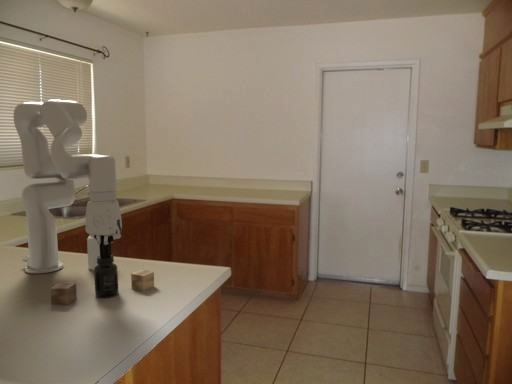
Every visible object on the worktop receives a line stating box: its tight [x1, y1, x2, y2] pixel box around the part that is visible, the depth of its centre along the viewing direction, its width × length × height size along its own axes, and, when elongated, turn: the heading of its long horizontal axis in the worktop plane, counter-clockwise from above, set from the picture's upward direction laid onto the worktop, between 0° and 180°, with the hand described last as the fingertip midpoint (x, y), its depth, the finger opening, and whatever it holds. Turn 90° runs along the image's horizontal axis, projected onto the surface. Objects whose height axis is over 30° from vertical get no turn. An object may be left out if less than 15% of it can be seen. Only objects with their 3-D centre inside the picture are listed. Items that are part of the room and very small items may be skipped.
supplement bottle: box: [93, 254, 119, 299], centre depth 128 cm, size 7×7×12 cm
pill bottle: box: [86, 235, 100, 271], centre depth 154 cm, size 8×8×15 cm
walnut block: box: [50, 282, 77, 306], centre depth 122 cm, size 5×5×5 cm
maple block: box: [130, 269, 155, 292], centre depth 135 cm, size 5×5×5 cm
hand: (105, 256), depth 127 cm, fingers closed
